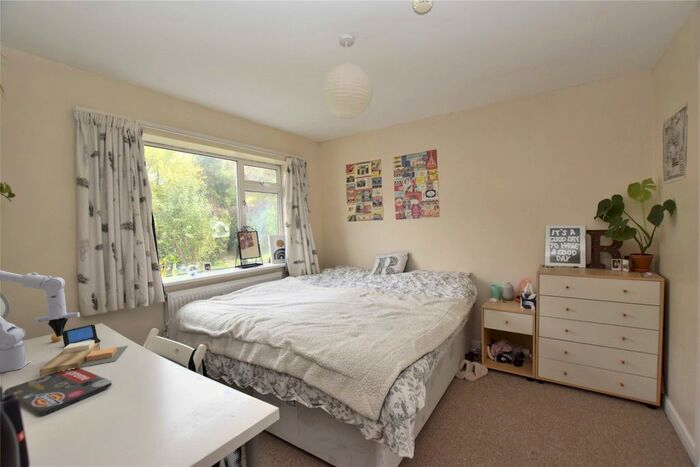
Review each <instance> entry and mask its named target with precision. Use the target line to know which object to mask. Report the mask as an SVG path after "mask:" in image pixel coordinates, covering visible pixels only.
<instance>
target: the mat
mask: <svg viewBox="0 0 700 467" xmlns="http://www.w3.org/2000/svg"><path fill="white" fill-rule="evenodd" d="M128 347H129V345H123V346H117V352H116V353H115V354H114V355H113V357H108V358H103V359H97V360H91V361H85V362H84V363H83V364H82V365H81V366H80V368H79V369H81V368H87V367H92V366H97V365H103V364H108V363H114V362H117V360H118V359H119V358H120V357H121V355H123V353H124V352H125V351H126V349H127V348H128Z"/></svg>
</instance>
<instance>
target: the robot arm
mask: <svg viewBox="0 0 700 467" xmlns="http://www.w3.org/2000/svg"><path fill="white" fill-rule="evenodd" d="M0 281H3V282H4V281H5V282H10V283H19V285H21V286H22V287H25V288H31V289H36V290H44V291H45V292H46V302H47V303H46V306H47V312H48V313H47V314H48V315H44V316H37V317H35V318H34V322H35V324H37V323H42V322H43V323H44V322H47V325H48V326H49V327H50V328H51V329H52V330H53V332H54V334H56V336H57V337H59V336H62V335H63V331H65V327H66V325H67V322H68V320H69V319H72V318H73V319H74V318H75V319H76V318H79V317H81V313H80V311H77V312H67V304H66V293H65V286H66V280H65V279H64V278H62V277H60V276H54V277H53V276H52V275H42V274H38V272H35V271H34V272H32V273H30V272H28V273H26V274H19V273H14V272H9V271H4V270H0ZM25 336H26V330H25V329H23V328H21V327H19V326H17V325H15V324H14V323H12V322H8V321H7V320H6V319H4V318H3V317H2V316H1V315H0V373H6V372H12V371H17V370H21V369H22V368H24V367H26V365H28V364H30V363H31V362H32V360H26V351H25V342H24V341H23V340H24V338H25ZM62 337H63V336H62Z"/></svg>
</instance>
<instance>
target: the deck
mask: <svg viewBox="0 0 700 467" xmlns="http://www.w3.org/2000/svg"><path fill="white" fill-rule="evenodd" d="M96 350H101V344H100V342H98V343H95V344H94V345H93V346H92V347H91V348H90V349H88V350H82V351H76V352H69V353H63V351H61V352H60V353H59V354H58V355H56V356H55V357H53V358H52V359H51V360H49V361H48V362H47V363H46V364H44V365H43V366H42V367H41V368H39V371H38V372H39V376H40V377H41V376H45V375H46V376H47V375H51V374H57V373H56V372H58V371H62V370H65V369H69V368H73V367H76V368H79V369H81V368H80V366H81V365H82V364H83V363H84V362H85V361H86V356H87V355H88V354H89V353H90V352H91V351H96ZM58 373H59V372H58Z"/></svg>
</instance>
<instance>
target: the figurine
mask: <svg viewBox="0 0 700 467" xmlns="http://www.w3.org/2000/svg"><path fill="white" fill-rule="evenodd" d="M62 339H63V336H59V337H57V336H56V334H55V333H54V334H52V335H51V338H50V340H51V341H52V342H57V343H58V342H59V341H61V340H62Z"/></svg>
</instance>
